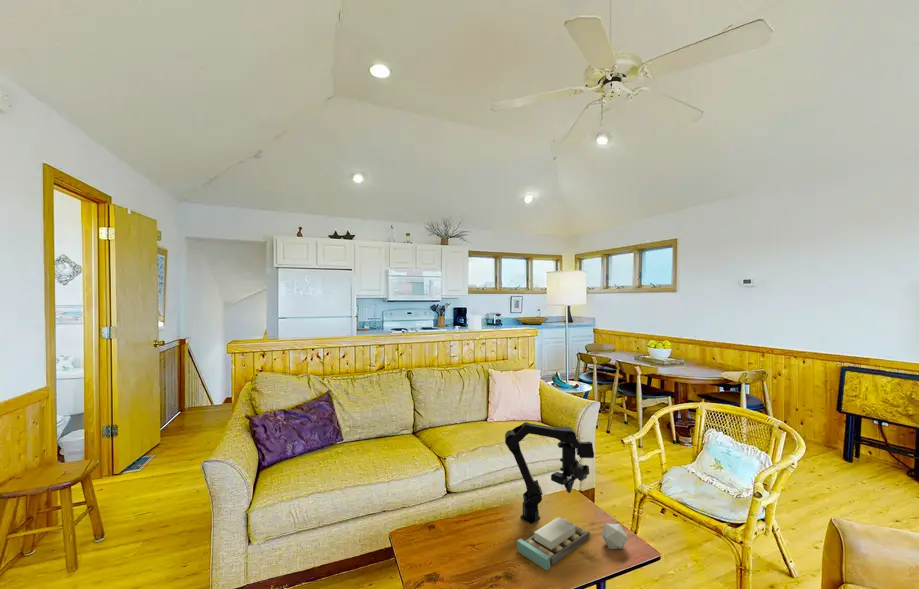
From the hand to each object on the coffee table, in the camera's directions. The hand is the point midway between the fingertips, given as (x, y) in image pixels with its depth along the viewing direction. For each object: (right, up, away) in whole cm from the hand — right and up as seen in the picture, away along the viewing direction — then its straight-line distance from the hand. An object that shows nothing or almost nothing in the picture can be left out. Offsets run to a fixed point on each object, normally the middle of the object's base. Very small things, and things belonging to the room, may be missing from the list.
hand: (569, 492), depth 169 cm
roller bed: (-9, -12, -15) cm, 22 cm away
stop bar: (-21, -12, -25) cm, 35 cm away
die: (+13, -12, -18) cm, 25 cm away
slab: (-10, -9, -16) cm, 21 cm away
